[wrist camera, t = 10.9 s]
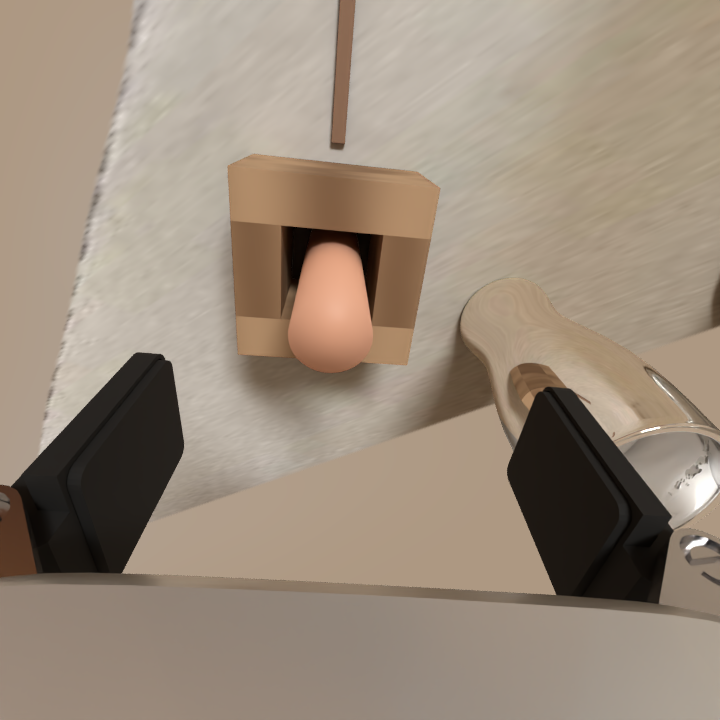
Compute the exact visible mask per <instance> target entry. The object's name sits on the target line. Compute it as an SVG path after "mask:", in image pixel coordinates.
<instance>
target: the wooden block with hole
mask: <svg viewBox="0 0 720 720" xmlns="http://www.w3.org/2000/svg"><path fill="white" fill-rule="evenodd" d="M228 184H229V202H230V220H231V238H232V256H233V274H234V292H235V311H236V329H237V347H238V354H240V355H256V356H271V357H287V358H296V356H295V355H294V354H293V352H292V350H291V348H290V345H289V341H288V328H289V324H290V319H291V315H292V311H293V306H294V302H295V297H296V293H297V289H298V284H299V280H300V279H293V278H292V257H293V227H303V228H314V229H325V230H335V231H346V232H357V233H367V234H371V236H370V245H369V253H368V262H367V271H366V280H365V286H366V292H367V298H368V304H369V310H370V316H371V323H372V329H373V342H372V346H371V349H370V351H369V353H368V354H367V356H366V357H365V358H364V359H363V360H362V361H361V362H365V363H380V364H396V365H407V363H408V358H409V352H410V347H411V342H412V336H413V331H414V326H415V320H416V315H417V310H418V305H419V299H420V294H421V289H422V283H423V278H424V273H425V267H426V262H427V257H428V252H429V246H430V241H431V236H432V230H433V225H434V220H435V214H436V209H437V204H438V199H439V193H440V188H439V187H438V186H436V185H435V184H434V183H432V182H431V181H429V180H428V179H427V178H425V177H424V176H422V175H421V174H420V173H418V172H414V171H404V170H395V169H386V168H377V167H368V166H358V165H349V164H340V163H331V162H322V161H313V160H303V159H294V158H285V157H276V156H267V155H257V154H252V155H250V156H248V157H246V158H243V159H241V160H239V161H237V162H235V163H233V164H230V165H228Z"/></svg>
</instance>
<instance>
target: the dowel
mask: <svg viewBox="0 0 720 720" xmlns="http://www.w3.org/2000/svg"><path fill="white" fill-rule="evenodd" d="M288 341H289V345H290V348H291V350H292V352H293V354H294V355H295V356H296V358H297V359H298V360H299V361H300V362H302V363H303V364H304V365H306V366H307V367H309V368H311V369H313V370H316V371H319V372H325V373H337V372H343V371H346V370H349V369H351V368H353V367H355V366H356V365H358V364H359V363H360V362H361V361H362V360H363V359H364V358H365V357H366V356H367V354H368V353H369V351H370V349H371V346H372V342H373V329H372V323H371V316H370V310H369V304H368V298H367V292H366V286H365V280H364V274H363V267H362V261H361V255H360V249H359V243H358V238H357V235H356V232H346V231H335V230H325V229H314V228H313V229H312V231H311V233H310V236H309V240H308V244H307V249H306V253H305V258H304V262H303V266H302V271H301V275H300V280H299V284H298V289H297V293H296V297H295V302H294V306H293V311H292V315H291V319H290V324H289V328H288Z"/></svg>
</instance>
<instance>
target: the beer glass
mask: <svg viewBox="0 0 720 720" xmlns="http://www.w3.org/2000/svg"><path fill="white" fill-rule="evenodd" d="M460 332H461V336H462V339H463V341H464V343H465V345H466V346H467V348H468V349H469V350H470V351H471V352H472V353H473V354H474V355H475V356H476V357H477V358H478V359H480V360H481V361H482V362H483V364H484V365H485V367H486V370H487V373H488V377H489V380H490V385H491V389H492V393H493V397H494V401H495V405H496V408H497V412H498V415H499V418H500V421H501V424H502V427H503V430H504V432H505V434H506V437H507V439H508V441H509V443H510V445H511V447H512V449H513V451H514V449H515V446H516V444H517V441H518V439H519V436H520V434H521V431H522V429H523V426H524V424H525V421H526V419H527V416H528V413H529V411H530V408H531V406H532V403H533V401H534V398H535V396H536V394H537V393H538V392H540V391H543V390H544V389H545V388H546V387H560V388H569V389H571V390H573V391H574V393H575V394H576V395H577V396H578V398H579V399H580V400H581V401H582V403H583V404H584V405H585V407H586V408H587V409H588V410H589V412H590V413H591V414H592V415H593V417H594V418H595V419H596V420H597V422H598V423H599V424H600V426H601V427H602V428H603V429H604V431H605V432H606V433H607V434H608V436H609V437H610V438H611V439H612V441H613V442H614V443H615V445H616V446H617V447H618V448H619V450H620V451H621V452H622V453H623V455H624V456H625V457H626V458H627V460H628V461H629V462H630V464H631V465H632V466H633V467H634V469H635V470H636V471H637V472H638V474H639V475H640V476H641V477H642V479H643V480H644V481H645V483H646V484H647V485H648V486H649V488H650V489H651V490H652V491H653V493H654V494H655V495H656V496H657V498H658V499H659V500H660V502H661V503H662V504H663V505H664V507H665V508H666V509H667V510H668V512H669V513H670V514H671V515H672V518H671V519H670V521H669V522H668V524H669V525H670V526H671V528H672V529H673V530H674V531H676V530H678V529H680V528H689V527H690V526H692V525H694V524H695V523H696V522H698V521H700V520H701V519H703V518H704V517H705V516H707V515H708V514H709V513H710V512H712V511H713V510H714V509H715V508H716V507H717V506H718V505H719V504H720V430H719V429H718V428H717V427H716V426H715V425H714V424H713V423H711V422H710V421H709V420H708V419H707V418H706V417H705V416H704V415H703V414H702V413H701V412H700V411H699V410H698V408H696V406H695V405H693V404H692V403H691V402H690V401H689V400H688V399H687V398H686V397H685V396H684V395H683V394H682V393H681V392H680V391H679V390H678V389H677V388H676V387H675V386H674V385H672V384H671V383H670V382H669V381H668V380H667V379H666V378H664V377H663V376H662V375H661V374H660V373H659V372H657V371H656V370H655V369H654V368H653V367H651V366H650V365H649V364H647V363H646V362H645V361H643V360H642V359H641V358H639V357H638V356H637V355H635V354H634V353H632V352H631V351H630V350H628V349H626V348H625V347H623V346H621V345H619V344H618V343H616V342H614V341H612V340H611V339H609V338H607V337H605V336H603V335H601V334H599V333H597V332H595V331H593V330H591V329H589V328H587V327H585V326H582V325H580V324H578V323H576V322H574V321H572V320H570V319H568V318H566V317H564V316H562V315H561V314H560V313H558V312H557V311H556V310H555V308H554V307H553V305H552V303H551V301H550V300H549V298H548V296H547V295H546V293H545V292H544V291H543V289H542V288H541V287H540V286H538V285H537V284H535V283H533V282H531V281H529V280H526V279H522V278H504V279H500V280H496V281H494V282H491V283H489V284H487V285H486V286H484V287H483V288H481V289H480V290H479V291H477V292H476V293H475V294H474V295H473V296H472V297H471V299H470V300H469V301H468V303H467V304H466V306H465V308H464V310H463V313H462V316H461V320H460Z"/></svg>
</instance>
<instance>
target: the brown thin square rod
mask: <svg viewBox="0 0 720 720" xmlns="http://www.w3.org/2000/svg"><path fill="white" fill-rule="evenodd" d="M354 13H355V0H340V10H339V27H338V43H337V60H336V76H335V93H334V110H333V126H332V142H334V143H343V144H345V134H346V120H347V107H348V94H349V80H350V67H351V53H352V40H353V27H354Z"/></svg>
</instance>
